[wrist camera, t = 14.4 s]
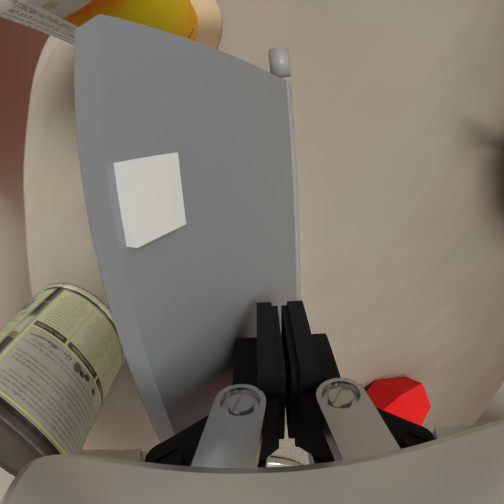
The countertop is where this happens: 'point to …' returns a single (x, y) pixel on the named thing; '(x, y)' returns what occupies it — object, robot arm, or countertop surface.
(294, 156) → the cover
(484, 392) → the countertop surface
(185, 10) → the beer can
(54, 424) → the coffee can
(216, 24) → the coaster
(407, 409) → the apple
